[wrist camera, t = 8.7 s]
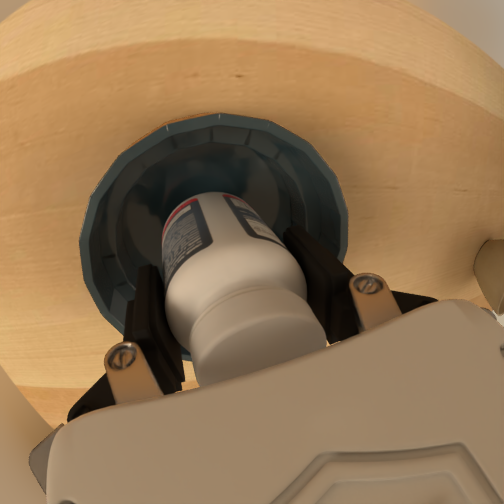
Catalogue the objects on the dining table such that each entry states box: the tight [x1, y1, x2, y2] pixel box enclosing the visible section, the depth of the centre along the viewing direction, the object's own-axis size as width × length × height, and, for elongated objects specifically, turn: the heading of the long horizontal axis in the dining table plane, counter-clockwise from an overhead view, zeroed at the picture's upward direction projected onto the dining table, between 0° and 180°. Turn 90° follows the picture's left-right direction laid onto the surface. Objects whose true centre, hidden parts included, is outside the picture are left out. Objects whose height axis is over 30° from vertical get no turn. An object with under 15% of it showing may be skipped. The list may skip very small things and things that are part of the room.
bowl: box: [79, 113, 348, 362], centre depth 15 cm, size 13×13×5 cm
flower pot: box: [474, 239, 504, 316], centre depth 26 cm, size 10×10×7 cm
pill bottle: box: [162, 192, 327, 387], centre depth 11 cm, size 5×5×9 cm
